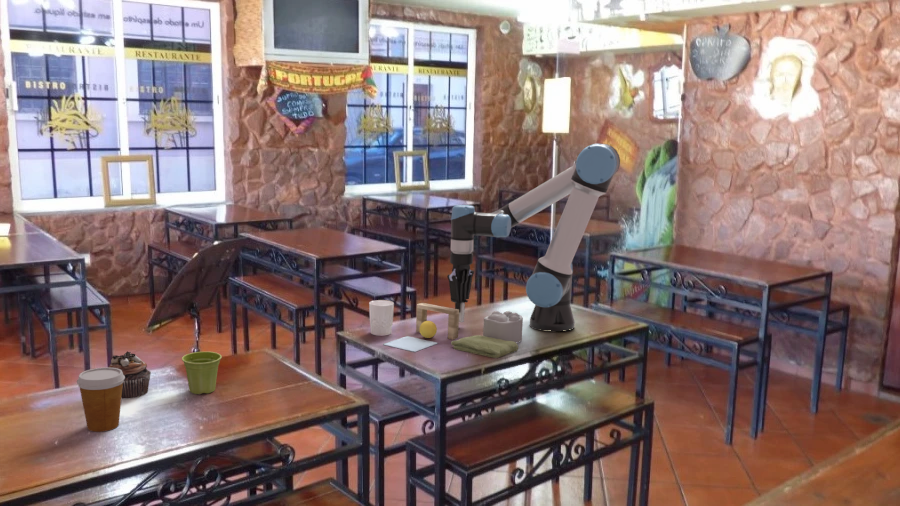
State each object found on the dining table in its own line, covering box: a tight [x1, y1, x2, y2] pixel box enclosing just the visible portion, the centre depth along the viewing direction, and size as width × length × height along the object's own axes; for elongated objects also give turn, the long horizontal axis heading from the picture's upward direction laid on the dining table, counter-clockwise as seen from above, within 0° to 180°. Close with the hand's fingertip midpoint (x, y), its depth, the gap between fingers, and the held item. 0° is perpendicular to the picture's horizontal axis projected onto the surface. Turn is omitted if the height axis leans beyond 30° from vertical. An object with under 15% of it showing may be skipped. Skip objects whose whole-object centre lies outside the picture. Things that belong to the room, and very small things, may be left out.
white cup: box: [368, 299, 395, 337], centre depth 251 cm, size 8×8×10 cm
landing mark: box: [382, 335, 439, 353], centre depth 240 cm, size 12×12×1 cm
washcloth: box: [450, 334, 519, 359], centre depth 237 cm, size 13×18×3 cm
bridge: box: [415, 302, 460, 341], centre depth 251 cm, size 3×14×9 cm, turn 56°
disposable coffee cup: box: [76, 366, 125, 433], centre depth 169 cm, size 10×10×12 cm
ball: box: [420, 320, 438, 339], centre depth 247 cm, size 6×6×6 cm
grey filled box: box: [482, 310, 524, 343], centre depth 248 cm, size 10×13×9 cm
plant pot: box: [181, 351, 223, 395], centre depth 194 cm, size 9×9×9 cm
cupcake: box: [108, 351, 152, 400], centre depth 190 cm, size 10×10×10 cm
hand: (459, 321), depth 262 cm, fingers closed
